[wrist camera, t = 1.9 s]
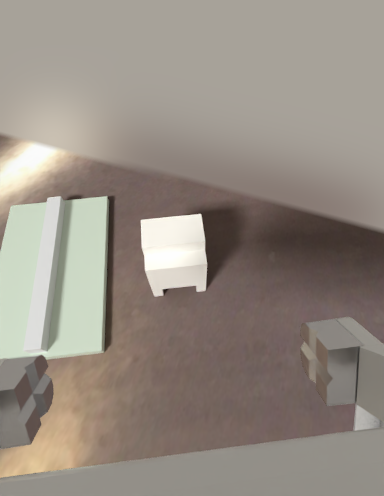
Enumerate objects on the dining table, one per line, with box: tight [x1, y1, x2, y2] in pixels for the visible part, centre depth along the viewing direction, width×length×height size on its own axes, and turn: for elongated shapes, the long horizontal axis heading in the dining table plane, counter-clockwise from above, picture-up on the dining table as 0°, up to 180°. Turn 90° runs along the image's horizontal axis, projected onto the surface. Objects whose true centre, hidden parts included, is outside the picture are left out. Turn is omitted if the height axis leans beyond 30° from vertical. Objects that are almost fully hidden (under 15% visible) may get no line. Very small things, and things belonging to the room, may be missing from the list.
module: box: [141, 214, 207, 296], centre depth 30 cm, size 5×6×8 cm
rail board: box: [0, 196, 109, 359], centre depth 33 cm, size 19×12×2 cm, turn 6°
